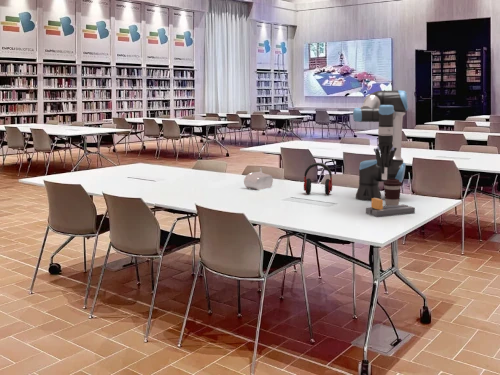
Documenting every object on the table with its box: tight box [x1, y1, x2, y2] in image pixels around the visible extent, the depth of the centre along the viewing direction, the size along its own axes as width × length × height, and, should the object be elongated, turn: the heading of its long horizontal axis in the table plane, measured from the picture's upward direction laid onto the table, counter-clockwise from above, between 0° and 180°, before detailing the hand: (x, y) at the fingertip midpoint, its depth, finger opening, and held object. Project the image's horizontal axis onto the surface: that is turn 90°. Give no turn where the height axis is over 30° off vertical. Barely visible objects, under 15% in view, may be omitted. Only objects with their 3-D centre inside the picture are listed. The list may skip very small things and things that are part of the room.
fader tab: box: [371, 198, 384, 210], centre depth 319 cm, size 6×3×7 cm, turn 22°
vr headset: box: [243, 166, 274, 191], centre depth 405 cm, size 18×11×14 cm, turn 138°
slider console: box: [365, 203, 416, 218], centre depth 323 cm, size 10×24×3 cm, turn 112°
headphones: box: [303, 162, 333, 196], centre depth 379 cm, size 18×10×20 cm, turn 79°
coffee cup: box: [383, 179, 403, 206], centre depth 342 cm, size 10×10×15 cm
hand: (384, 179), depth 319 cm, fingers closed
